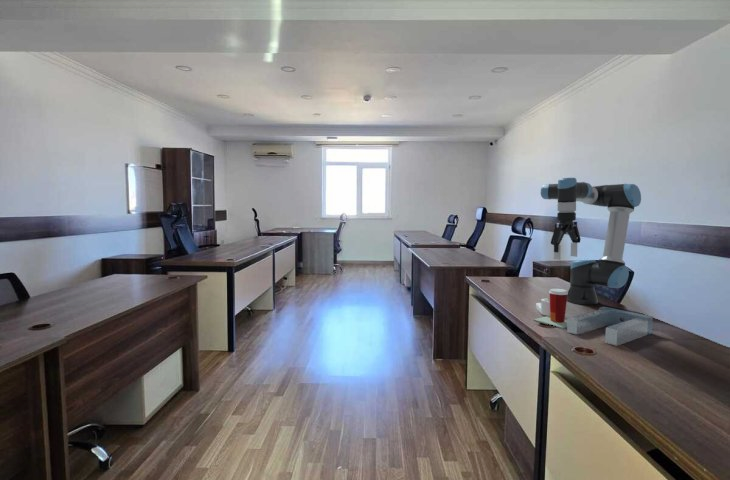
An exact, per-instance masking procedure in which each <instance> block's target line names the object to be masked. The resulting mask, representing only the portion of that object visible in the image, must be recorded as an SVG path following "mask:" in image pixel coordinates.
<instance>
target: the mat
mask: <svg viewBox="0 0 730 480" xmlns="http://www.w3.org/2000/svg"><path fill="white" fill-rule="evenodd" d="M533 321H534V322H537V323H541V324H545V325H548V324H549V325H548V326H551V325H553V326H552V327H555V326H556V327H555V328H560V329H563V330H564V329H567V318H566V317H565V320H564V322H562V323H558V322H553V321H551V320H550V316H546V315H545V316H542V317H539V318H538V317H537V318H533Z"/></svg>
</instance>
